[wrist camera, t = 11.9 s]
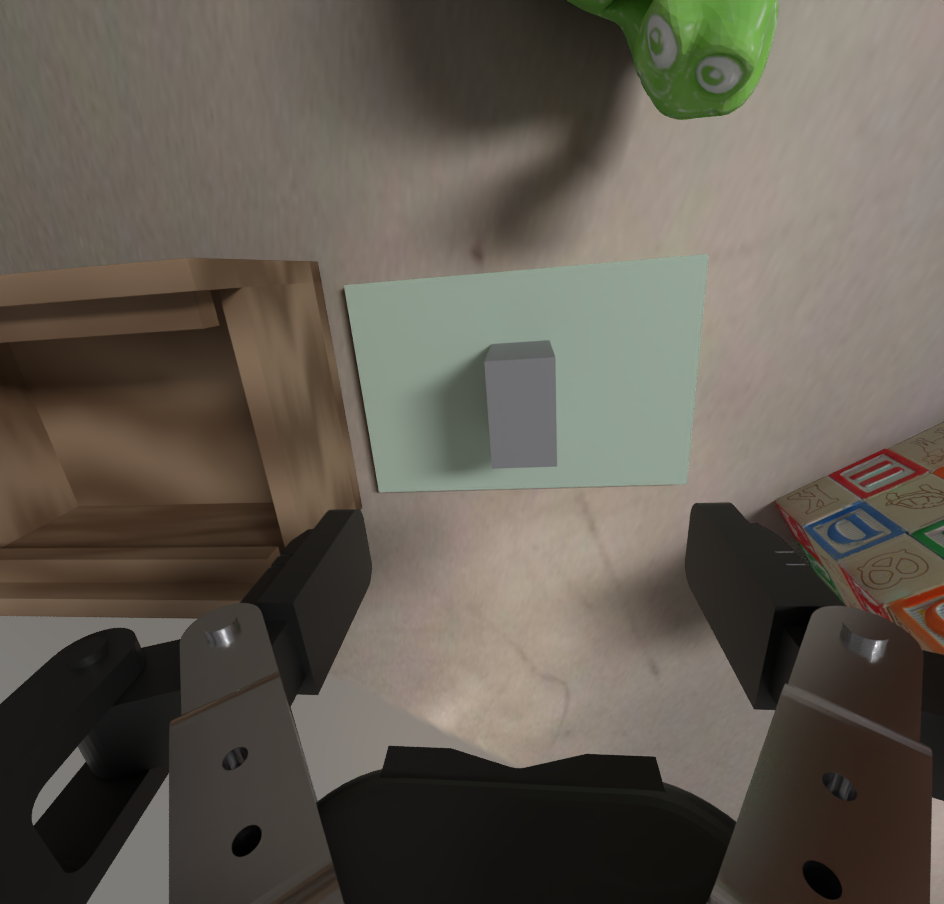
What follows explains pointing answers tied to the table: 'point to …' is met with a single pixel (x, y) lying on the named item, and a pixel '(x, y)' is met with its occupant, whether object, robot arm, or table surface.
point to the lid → (532, 375)
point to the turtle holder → (694, 49)
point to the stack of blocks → (881, 534)
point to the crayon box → (163, 433)
